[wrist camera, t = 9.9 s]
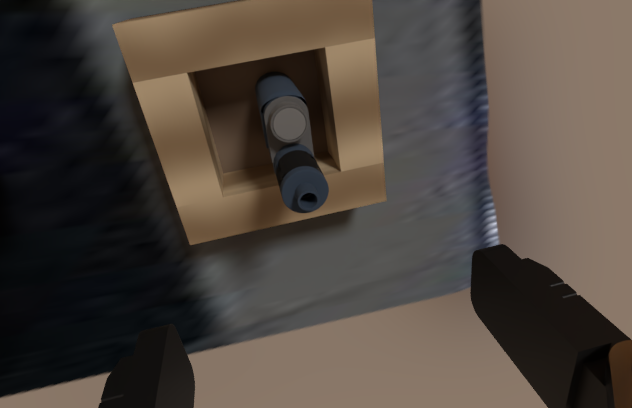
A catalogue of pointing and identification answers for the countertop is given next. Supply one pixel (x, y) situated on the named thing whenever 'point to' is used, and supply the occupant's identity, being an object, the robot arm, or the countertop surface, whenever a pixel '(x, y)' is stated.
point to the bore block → (256, 105)
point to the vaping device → (290, 143)
